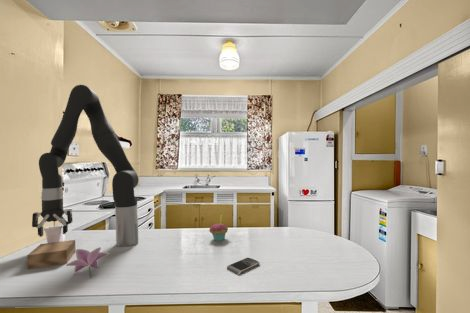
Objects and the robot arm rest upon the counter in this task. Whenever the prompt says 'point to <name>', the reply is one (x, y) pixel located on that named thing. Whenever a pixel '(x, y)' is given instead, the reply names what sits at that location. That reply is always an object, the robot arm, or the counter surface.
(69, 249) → the walnut block
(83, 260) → the lily
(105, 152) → the robot arm
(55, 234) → the smoothie
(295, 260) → the counter surface
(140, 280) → the counter surface
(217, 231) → the cupcake
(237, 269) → the cell phone
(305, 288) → the counter surface
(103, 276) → the counter surface
